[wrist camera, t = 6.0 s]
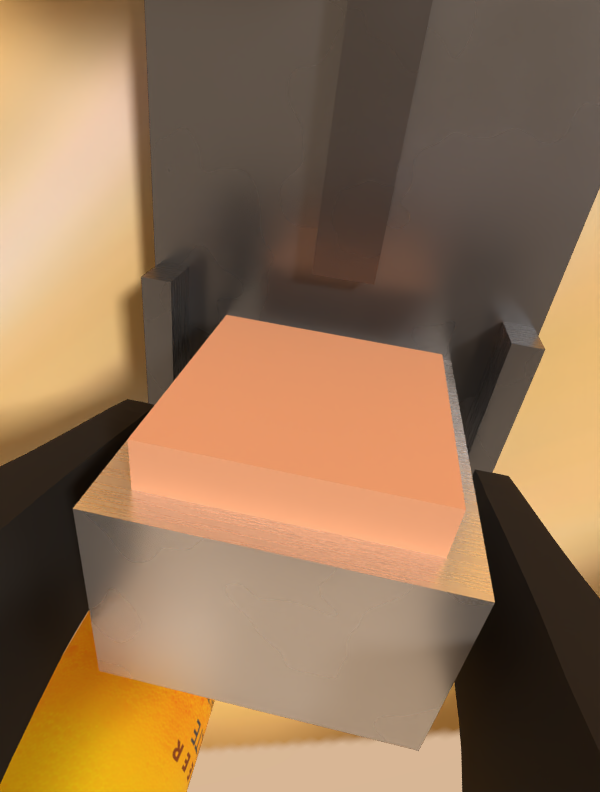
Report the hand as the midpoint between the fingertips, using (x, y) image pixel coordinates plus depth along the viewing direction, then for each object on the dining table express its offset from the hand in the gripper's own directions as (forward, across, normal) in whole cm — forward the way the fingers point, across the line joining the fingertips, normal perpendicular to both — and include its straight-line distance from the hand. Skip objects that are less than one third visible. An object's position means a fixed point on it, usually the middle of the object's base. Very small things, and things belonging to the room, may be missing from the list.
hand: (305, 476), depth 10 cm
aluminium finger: (+2, 0, 0) cm, 2 cm away
